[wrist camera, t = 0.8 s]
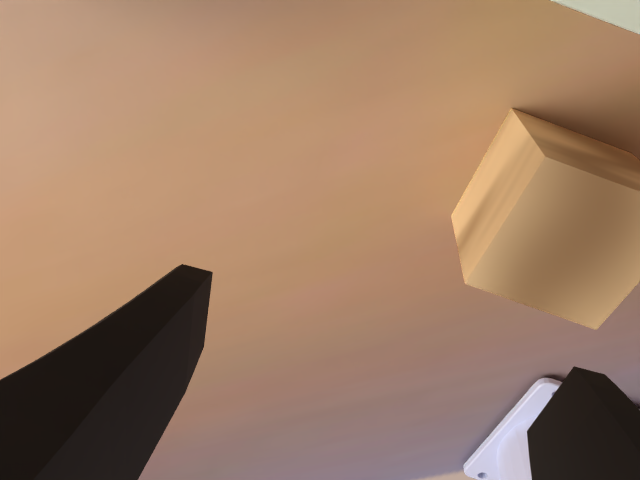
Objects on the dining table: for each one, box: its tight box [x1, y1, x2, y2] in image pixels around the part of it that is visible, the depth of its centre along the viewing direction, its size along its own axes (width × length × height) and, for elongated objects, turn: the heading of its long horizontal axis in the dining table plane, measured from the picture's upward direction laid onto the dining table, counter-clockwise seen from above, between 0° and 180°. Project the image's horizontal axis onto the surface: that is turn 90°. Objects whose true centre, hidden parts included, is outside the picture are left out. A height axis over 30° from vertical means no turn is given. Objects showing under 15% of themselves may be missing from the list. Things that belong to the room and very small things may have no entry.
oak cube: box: [451, 108, 640, 330], centre depth 16 cm, size 4×4×4 cm
